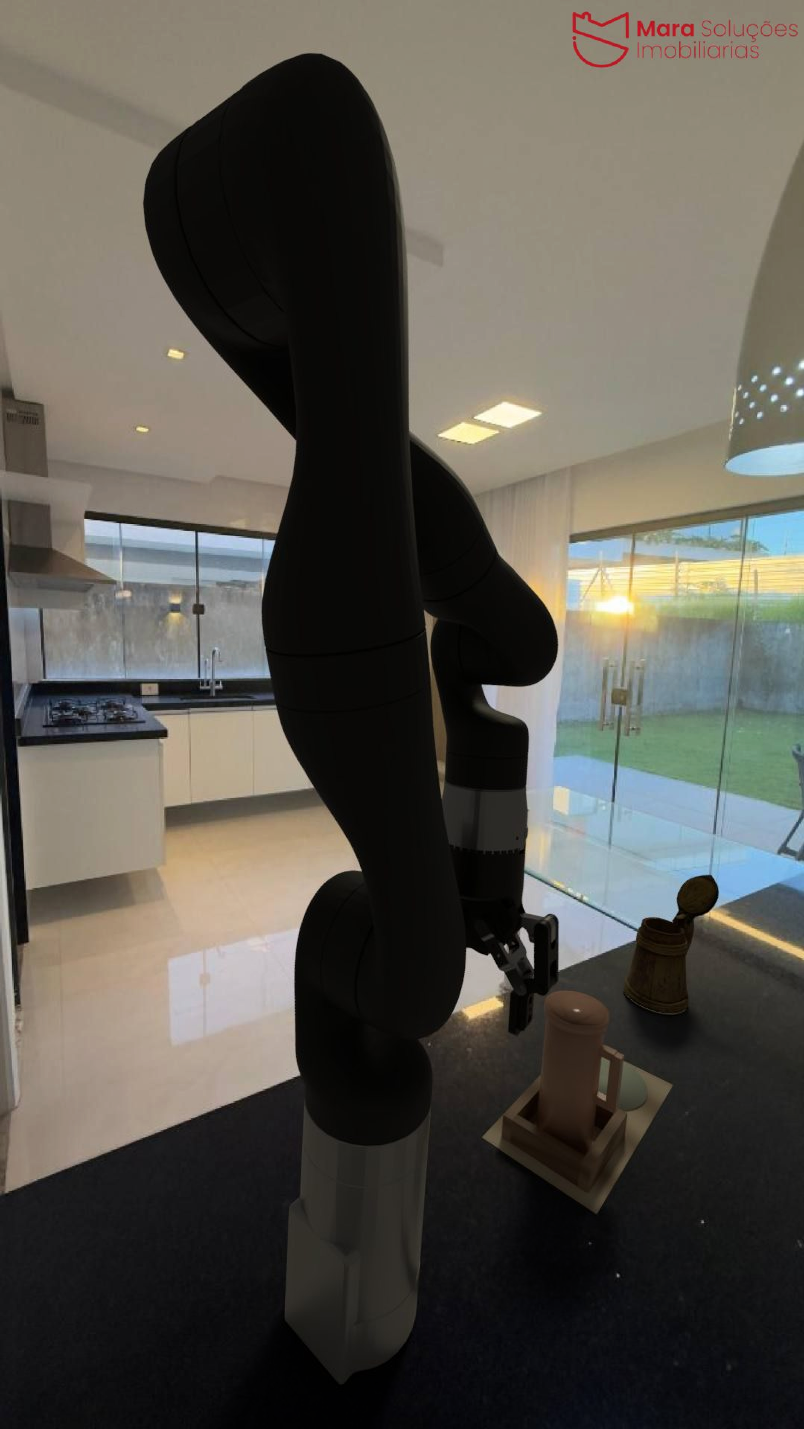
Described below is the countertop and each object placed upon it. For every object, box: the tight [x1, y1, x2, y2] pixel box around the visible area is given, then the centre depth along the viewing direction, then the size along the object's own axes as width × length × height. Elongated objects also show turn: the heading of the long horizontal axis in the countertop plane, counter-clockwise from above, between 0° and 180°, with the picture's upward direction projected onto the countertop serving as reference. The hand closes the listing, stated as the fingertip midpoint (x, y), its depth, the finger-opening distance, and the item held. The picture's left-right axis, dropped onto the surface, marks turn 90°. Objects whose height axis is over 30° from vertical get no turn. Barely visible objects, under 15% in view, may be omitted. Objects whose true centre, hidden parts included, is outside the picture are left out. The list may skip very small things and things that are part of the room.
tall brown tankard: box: [536, 990, 625, 1156], centre depth 61 cm, size 6×8×14 cm
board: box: [481, 1057, 674, 1215], centre depth 66 cm, size 22×12×4 cm, turn 140°
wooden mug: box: [623, 874, 720, 1013], centre depth 90 cm, size 9×14×18 cm, turn 114°
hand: (472, 1012), depth 54 cm, fingers open, 8 cm apart
